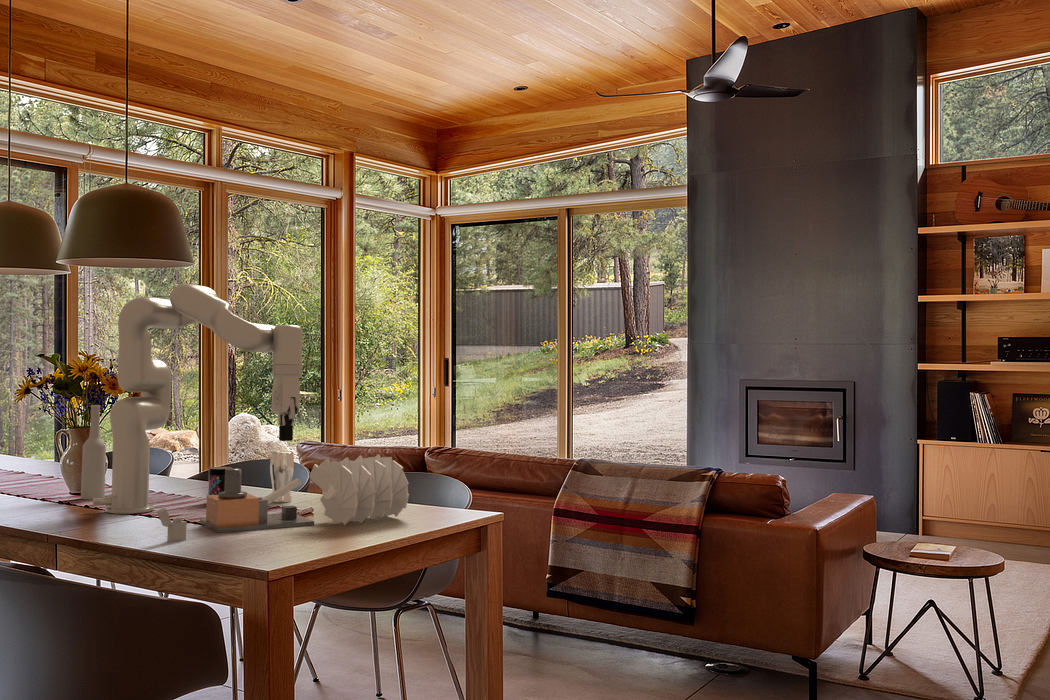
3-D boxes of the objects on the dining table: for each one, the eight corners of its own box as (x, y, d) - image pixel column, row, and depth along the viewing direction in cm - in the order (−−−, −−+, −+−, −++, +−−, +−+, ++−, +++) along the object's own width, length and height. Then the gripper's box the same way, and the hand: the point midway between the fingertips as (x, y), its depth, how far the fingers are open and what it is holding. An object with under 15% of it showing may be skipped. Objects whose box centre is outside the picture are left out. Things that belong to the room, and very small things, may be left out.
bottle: (95, 500, 276) (98, 406, 277) (75, 499, 278) (78, 405, 278) (109, 497, 283) (112, 405, 283) (90, 496, 284) (93, 404, 285)
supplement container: (208, 501, 279) (209, 466, 279) (232, 501, 280) (233, 466, 281) (206, 504, 272) (207, 469, 272) (230, 504, 274) (231, 469, 274)
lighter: (181, 538, 220) (182, 505, 220) (186, 539, 219) (187, 505, 219) (155, 543, 214) (156, 508, 214) (160, 544, 213) (161, 509, 213)
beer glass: (267, 500, 283) (268, 451, 283) (290, 499, 286) (291, 450, 286) (271, 503, 277) (272, 453, 277) (294, 502, 280) (296, 452, 280)
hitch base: (216, 533, 228) (217, 502, 228) (199, 523, 241) (200, 494, 241) (314, 525, 241) (315, 496, 242) (293, 516, 255) (294, 488, 255)
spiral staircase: (404, 532, 257) (336, 539, 237) (366, 498, 267) (297, 503, 247) (429, 474, 253) (361, 477, 233) (389, 443, 263) (321, 443, 243)
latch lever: (262, 507, 241) (259, 503, 240) (259, 506, 243) (257, 501, 242) (302, 483, 247) (299, 479, 246) (299, 482, 249) (296, 478, 248)
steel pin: (222, 523, 233) (223, 471, 233) (214, 519, 239) (215, 468, 239) (249, 521, 237) (251, 470, 237) (241, 517, 243) (243, 467, 243)
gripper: (264, 371, 250) (263, 439, 250) (282, 371, 237) (280, 443, 237) (291, 371, 254) (290, 438, 254) (310, 371, 241) (309, 442, 241)
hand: (285, 440), depth 245 cm, fingers closed
